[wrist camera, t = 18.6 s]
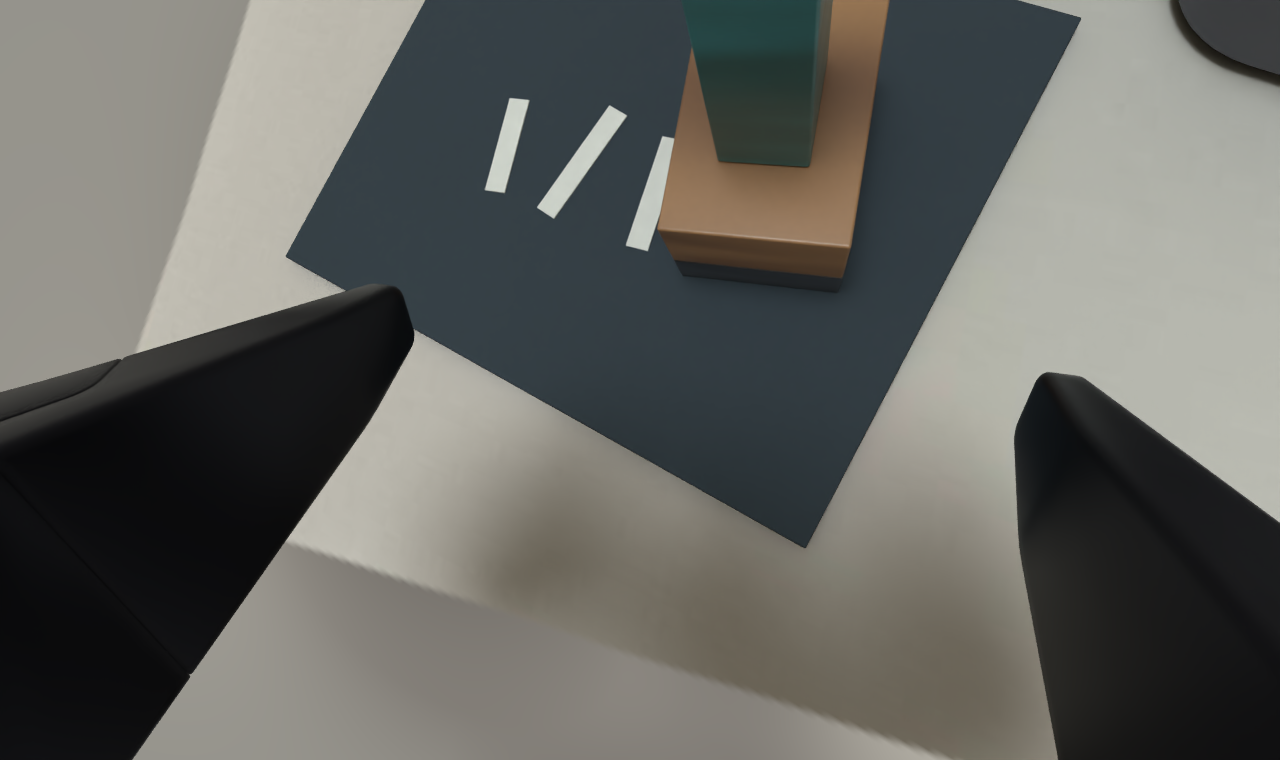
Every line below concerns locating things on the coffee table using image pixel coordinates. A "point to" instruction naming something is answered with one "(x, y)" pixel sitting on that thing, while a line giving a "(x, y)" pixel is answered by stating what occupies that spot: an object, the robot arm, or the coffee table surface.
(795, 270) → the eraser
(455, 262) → the slate mat
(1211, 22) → the streaming box
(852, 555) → the coffee table surface
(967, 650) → the coffee table surface
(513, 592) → the coffee table surface
